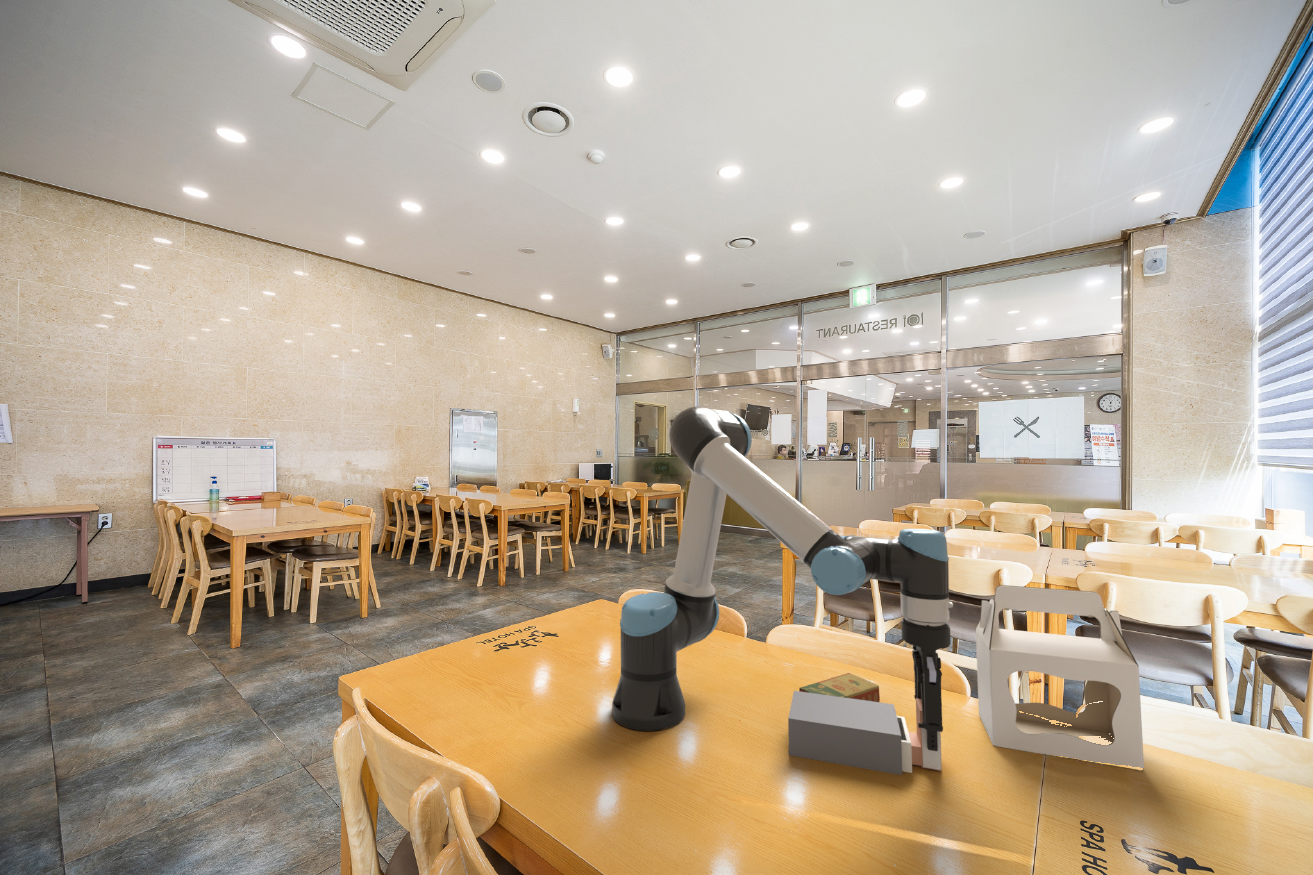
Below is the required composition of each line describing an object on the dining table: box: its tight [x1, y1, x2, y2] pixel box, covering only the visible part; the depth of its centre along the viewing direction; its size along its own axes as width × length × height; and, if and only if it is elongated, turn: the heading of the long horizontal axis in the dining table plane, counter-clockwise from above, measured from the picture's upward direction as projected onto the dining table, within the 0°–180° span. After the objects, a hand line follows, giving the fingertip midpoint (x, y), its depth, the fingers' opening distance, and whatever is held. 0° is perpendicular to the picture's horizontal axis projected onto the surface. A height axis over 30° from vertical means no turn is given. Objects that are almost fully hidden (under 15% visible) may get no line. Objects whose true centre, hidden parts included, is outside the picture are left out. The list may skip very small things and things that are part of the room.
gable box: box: [975, 584, 1145, 769], centre depth 98 cm, size 22×13×28 cm, turn 68°
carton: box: [798, 672, 881, 703], centre depth 112 cm, size 8×16×4 cm, turn 120°
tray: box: [897, 698, 943, 774], centre depth 92 cm, size 21×10×10 cm, turn 71°
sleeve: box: [787, 690, 903, 776], centre depth 94 cm, size 18×12×7 cm, turn 71°
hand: (929, 758), depth 89 cm, fingers closed on tray, 5 cm apart
